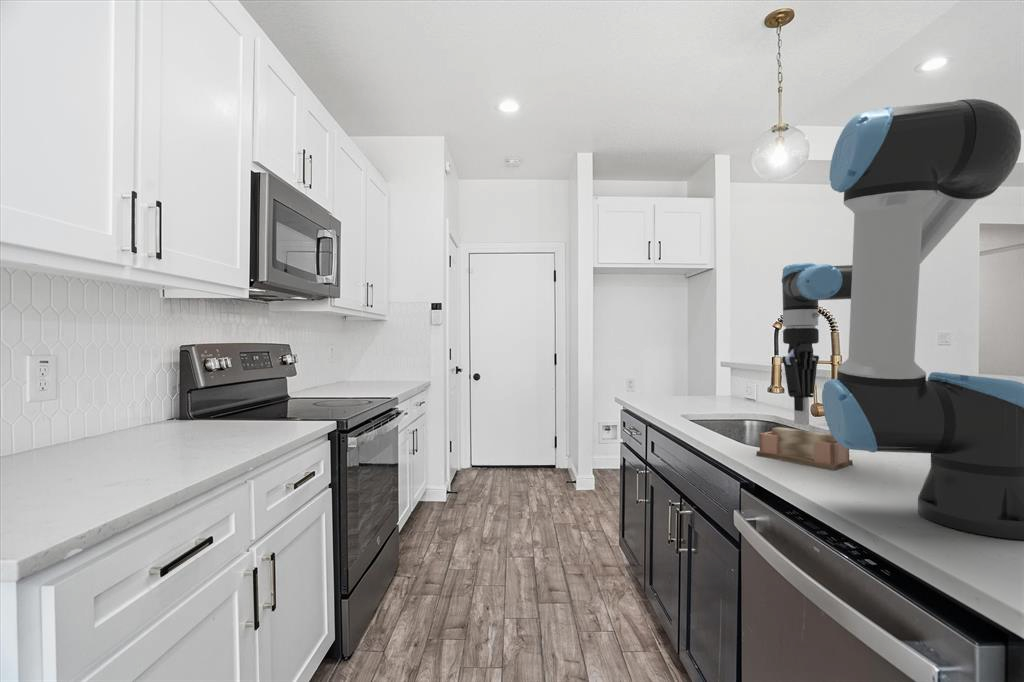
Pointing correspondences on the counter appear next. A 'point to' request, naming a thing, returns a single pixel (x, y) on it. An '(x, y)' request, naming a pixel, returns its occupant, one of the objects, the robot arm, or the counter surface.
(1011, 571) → the counter surface
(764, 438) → the brown slotted stand
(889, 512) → the counter surface
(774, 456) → the board
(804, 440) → the birch slat
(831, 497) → the counter surface
